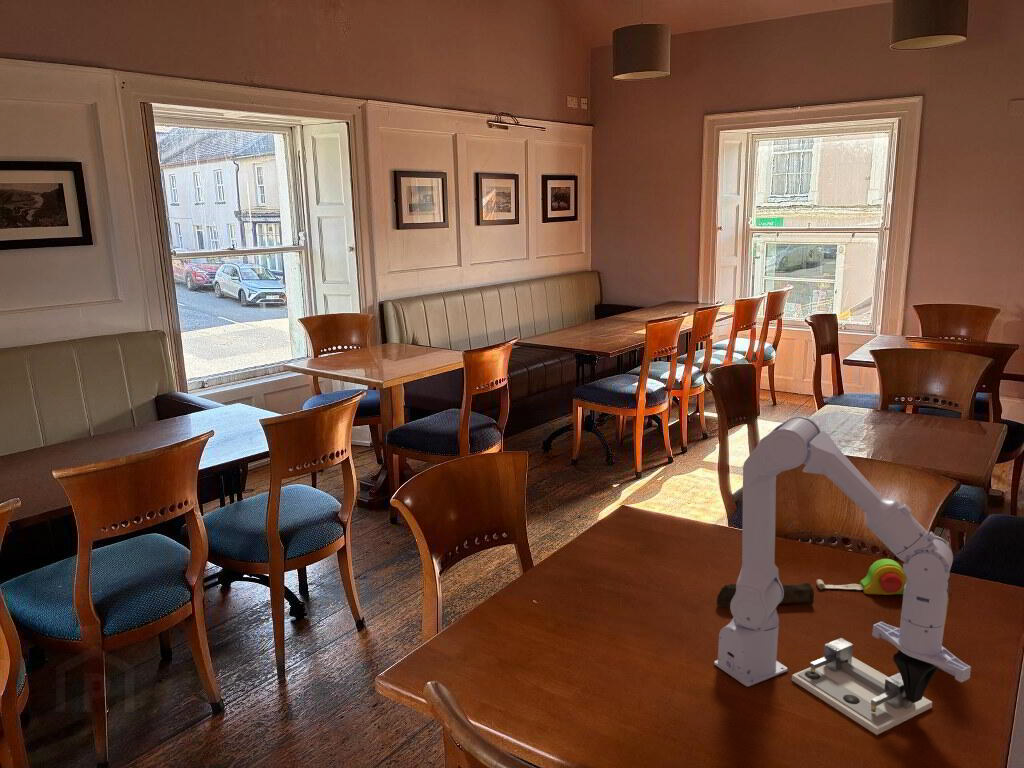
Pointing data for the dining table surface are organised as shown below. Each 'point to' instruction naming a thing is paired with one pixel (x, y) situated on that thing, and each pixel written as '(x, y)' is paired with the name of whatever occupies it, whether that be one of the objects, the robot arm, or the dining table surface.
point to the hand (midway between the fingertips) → (913, 699)
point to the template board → (858, 694)
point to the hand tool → (790, 596)
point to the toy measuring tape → (877, 579)
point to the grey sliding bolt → (891, 693)
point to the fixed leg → (834, 655)
